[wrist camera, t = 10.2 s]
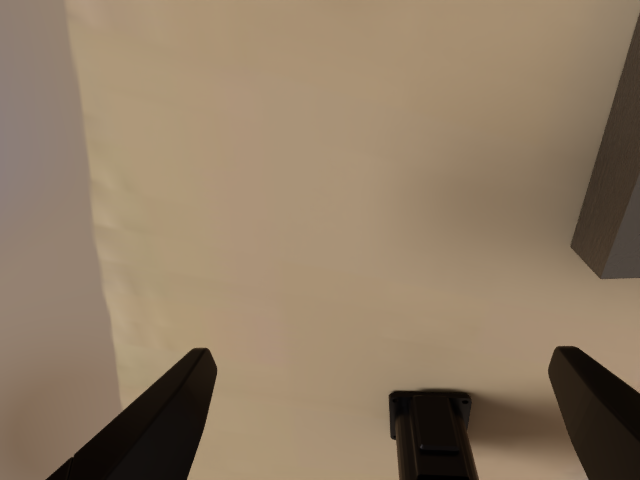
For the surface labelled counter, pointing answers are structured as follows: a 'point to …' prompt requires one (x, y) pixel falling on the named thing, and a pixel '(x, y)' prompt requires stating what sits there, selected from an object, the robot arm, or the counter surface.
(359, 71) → the counter surface
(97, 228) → the counter surface
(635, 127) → the rail
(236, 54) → the counter surface
